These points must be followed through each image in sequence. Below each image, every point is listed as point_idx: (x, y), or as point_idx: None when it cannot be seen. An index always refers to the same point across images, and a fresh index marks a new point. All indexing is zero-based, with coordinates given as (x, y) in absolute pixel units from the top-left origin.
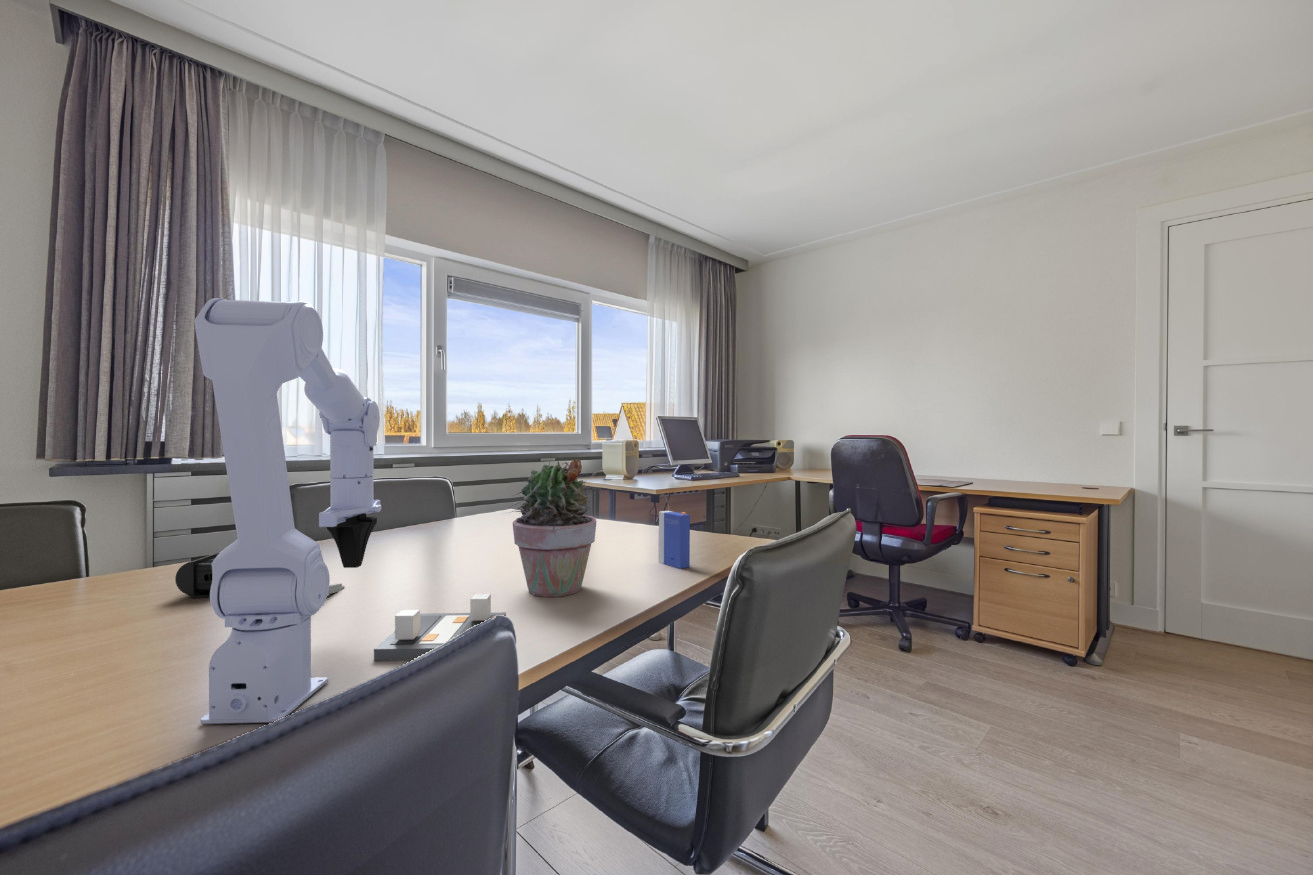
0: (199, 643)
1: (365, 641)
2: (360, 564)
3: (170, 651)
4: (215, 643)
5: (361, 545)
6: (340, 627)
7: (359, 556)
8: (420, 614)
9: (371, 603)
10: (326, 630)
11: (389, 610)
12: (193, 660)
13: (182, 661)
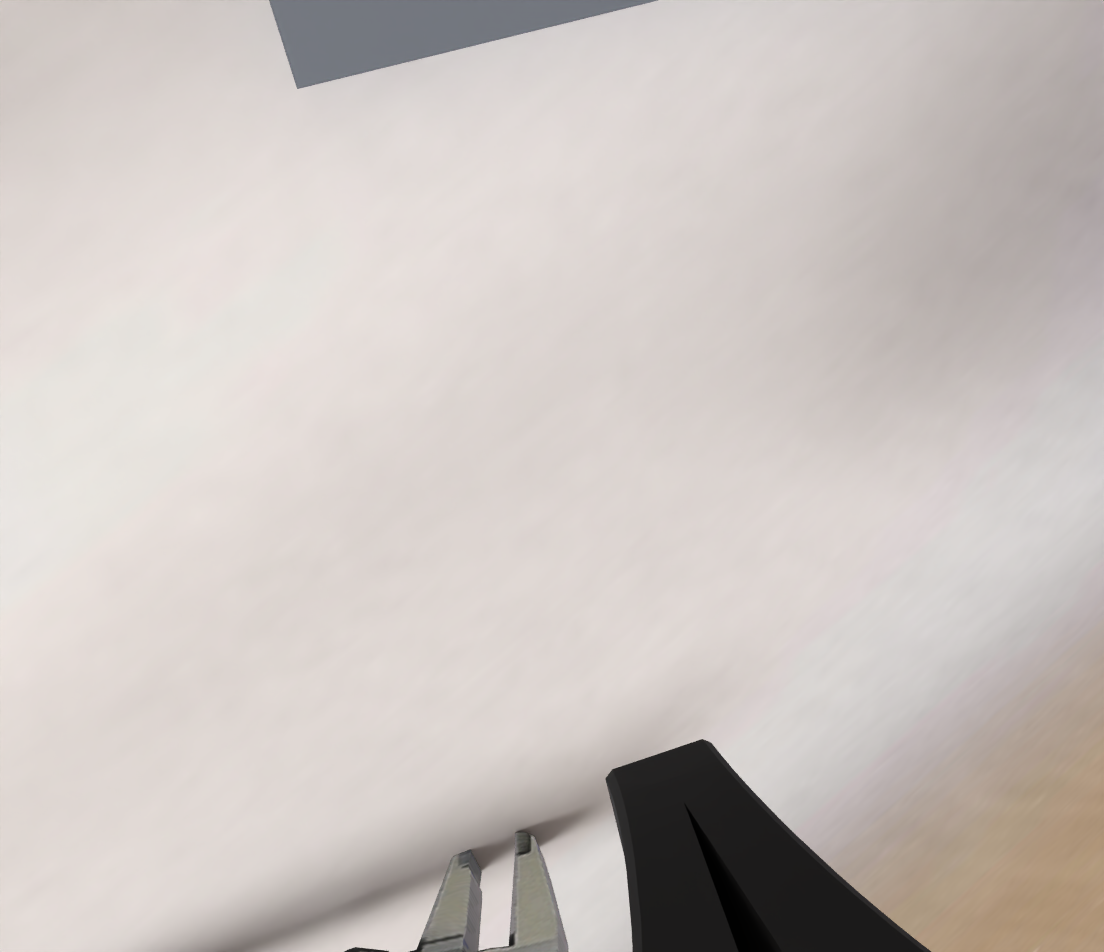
0: None
1: (722, 216)
2: (649, 769)
3: None
4: None
5: (832, 949)
6: (511, 558)
7: (767, 822)
8: (305, 10)
9: (4, 740)
10: (573, 591)
11: (88, 512)
12: (956, 776)
13: (962, 798)
